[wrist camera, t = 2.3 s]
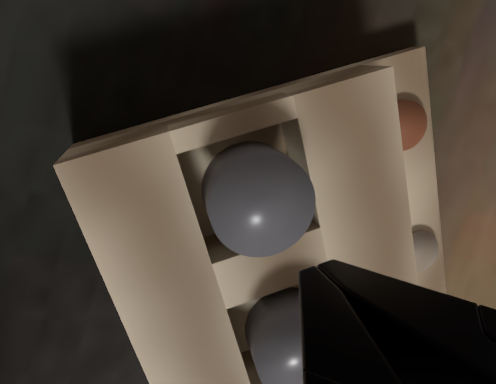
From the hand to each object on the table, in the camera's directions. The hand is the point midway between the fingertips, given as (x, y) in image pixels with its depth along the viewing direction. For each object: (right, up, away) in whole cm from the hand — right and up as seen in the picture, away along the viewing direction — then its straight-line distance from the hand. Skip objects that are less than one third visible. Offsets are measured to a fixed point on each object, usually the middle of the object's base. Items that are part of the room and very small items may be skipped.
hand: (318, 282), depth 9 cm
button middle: (0, -4, +9) cm, 10 cm away
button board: (+1, -2, +12) cm, 12 cm away
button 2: (-1, +2, +6) cm, 7 cm away
